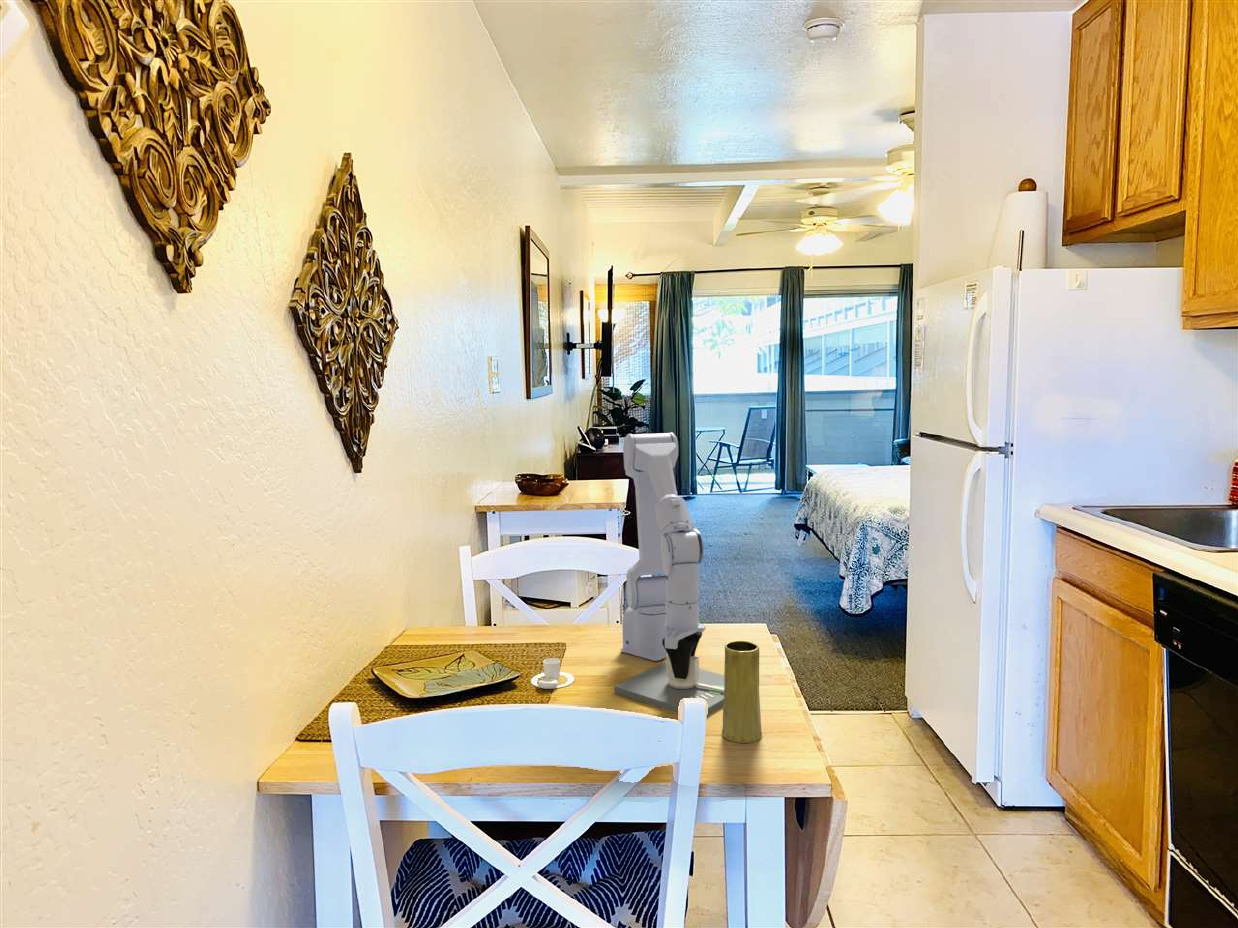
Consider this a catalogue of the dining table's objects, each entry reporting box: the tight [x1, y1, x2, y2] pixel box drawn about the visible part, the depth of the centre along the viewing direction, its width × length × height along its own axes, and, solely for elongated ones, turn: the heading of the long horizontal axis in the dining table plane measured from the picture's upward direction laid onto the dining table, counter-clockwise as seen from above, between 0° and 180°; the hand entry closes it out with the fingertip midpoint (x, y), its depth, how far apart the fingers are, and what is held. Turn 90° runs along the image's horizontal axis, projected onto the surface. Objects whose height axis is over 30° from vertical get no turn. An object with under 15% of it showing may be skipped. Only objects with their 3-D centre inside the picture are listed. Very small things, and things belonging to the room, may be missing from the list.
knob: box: [665, 654, 724, 692], centre depth 138 cm, size 11×5×5 cm, turn 60°
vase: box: [721, 639, 762, 744], centre depth 122 cm, size 6×6×14 cm
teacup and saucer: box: [530, 657, 575, 690], centre depth 146 cm, size 9×8×4 cm
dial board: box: [613, 661, 724, 716], centre depth 140 cm, size 18×16×1 cm
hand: (682, 675), depth 140 cm, fingers closed on knob, 2 cm apart
